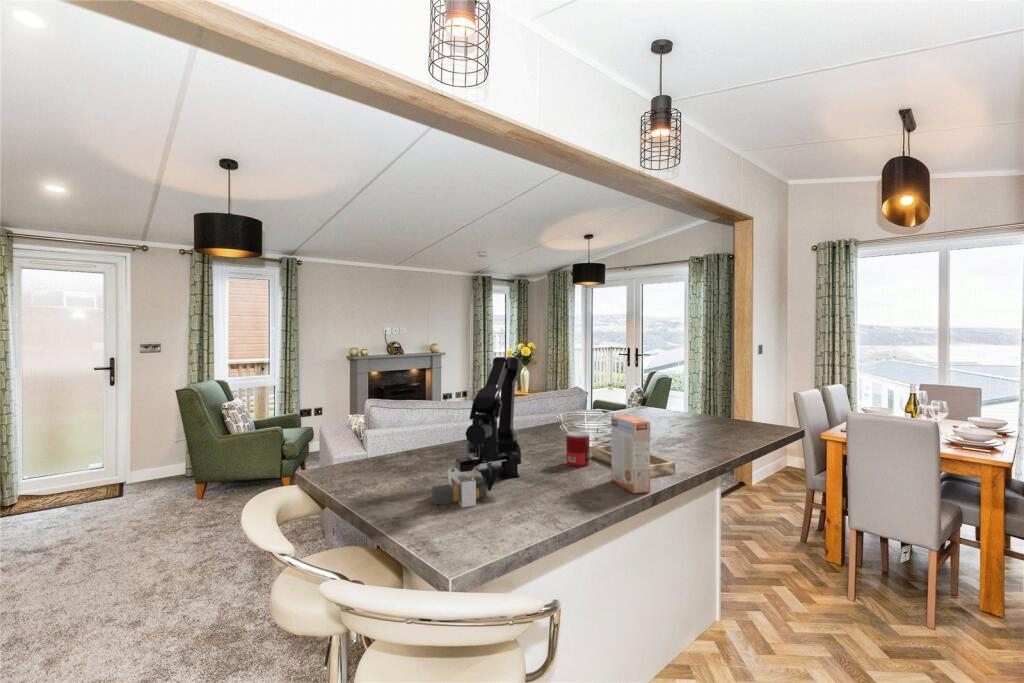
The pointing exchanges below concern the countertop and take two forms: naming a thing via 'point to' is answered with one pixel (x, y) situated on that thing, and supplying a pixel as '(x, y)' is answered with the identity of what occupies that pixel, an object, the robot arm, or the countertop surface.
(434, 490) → the plug
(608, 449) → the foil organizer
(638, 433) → the cracker box
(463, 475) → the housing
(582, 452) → the canned food
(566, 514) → the countertop surface
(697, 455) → the countertop surface
